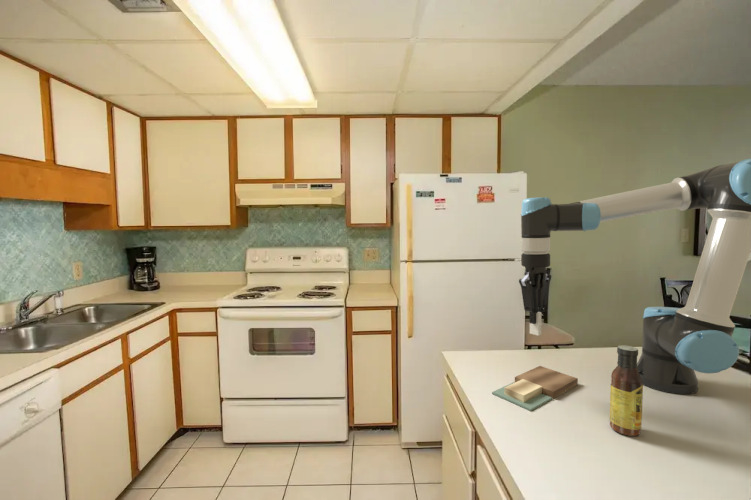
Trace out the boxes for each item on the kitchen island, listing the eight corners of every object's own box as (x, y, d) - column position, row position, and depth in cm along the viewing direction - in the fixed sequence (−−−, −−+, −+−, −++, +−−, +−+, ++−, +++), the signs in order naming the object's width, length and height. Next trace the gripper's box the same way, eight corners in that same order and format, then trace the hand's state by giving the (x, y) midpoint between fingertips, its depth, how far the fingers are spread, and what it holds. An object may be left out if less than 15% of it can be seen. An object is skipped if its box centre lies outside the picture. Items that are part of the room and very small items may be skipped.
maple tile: (541, 393, 104) (542, 386, 104) (523, 402, 99) (523, 395, 98) (522, 385, 109) (522, 378, 108) (504, 394, 103) (504, 387, 103)
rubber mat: (551, 399, 101) (552, 397, 101) (530, 411, 95) (530, 409, 95) (513, 383, 111) (513, 382, 111) (492, 393, 105) (492, 392, 105)
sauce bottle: (642, 440, 82) (646, 355, 80) (609, 432, 85) (612, 350, 83) (639, 426, 87) (643, 346, 86) (608, 419, 91) (611, 341, 89)
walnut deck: (577, 384, 109) (577, 378, 109) (552, 398, 101) (553, 391, 101) (539, 371, 119) (540, 365, 119) (514, 383, 111) (514, 377, 111)
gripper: (536, 250, 110) (535, 326, 112) (510, 253, 102) (510, 335, 104) (560, 251, 104) (560, 332, 105) (535, 255, 96) (534, 342, 98)
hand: (535, 333), depth 105 cm, fingers closed
